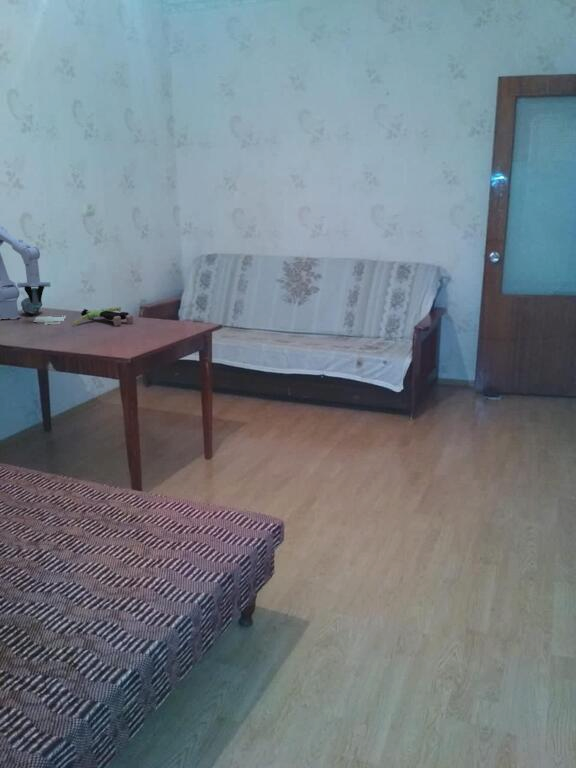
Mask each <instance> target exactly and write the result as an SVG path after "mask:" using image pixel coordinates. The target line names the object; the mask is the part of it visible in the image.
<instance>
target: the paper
mask: <svg viewBox="0 0 576 768" xmlns="http://www.w3.org/2000/svg"><path fill="white" fill-rule="evenodd" d="M61 316H62V317H52V315H50V316H49V315H48V316H36V317H35V319H34V320H33V322H37V323H45V322H53V321H60V322H65V320H64V319H66V317H67V315H61ZM63 316H64V317H63Z"/></svg>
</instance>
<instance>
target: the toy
mask: <svg viewBox="0 0 576 768" xmlns="http://www.w3.org/2000/svg"><path fill="white" fill-rule="evenodd" d="M121 309H122V307H121V306H119V307H118V306H114V307H113V306H112V307H109V308H103V309H100V310H99V309H95V310H93V309H91V310H89V309H86V308H84V309H83V310H82V311H81V312H80V315H81V316H80V317H78V318H77V319H75V320H74V321H73V322H71V324H72V326H74V327H77V325H79V323H80V322H83V321H86V320H89V319H90V320H94V318H103V319H105V320H107V321H113V324H114V325H113V326H115V327H116V326H121V325H122V320H125V322H126V324H127V325H131V324H133V322H134V318H133V314H130V313H129V312H126V311H122V310H121Z"/></svg>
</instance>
